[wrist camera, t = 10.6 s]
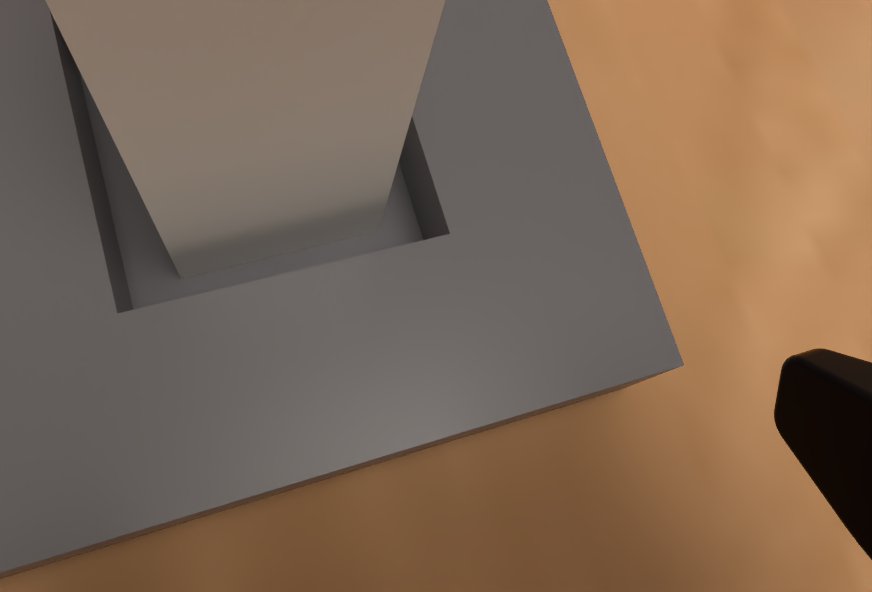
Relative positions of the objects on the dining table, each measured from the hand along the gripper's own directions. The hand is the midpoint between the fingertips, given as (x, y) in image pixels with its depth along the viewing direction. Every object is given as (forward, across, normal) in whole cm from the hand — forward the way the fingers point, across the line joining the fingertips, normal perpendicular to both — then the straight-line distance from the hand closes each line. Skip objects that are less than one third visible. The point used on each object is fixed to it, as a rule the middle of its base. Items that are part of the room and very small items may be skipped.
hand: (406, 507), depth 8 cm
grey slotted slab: (+12, 0, +1) cm, 12 cm away
